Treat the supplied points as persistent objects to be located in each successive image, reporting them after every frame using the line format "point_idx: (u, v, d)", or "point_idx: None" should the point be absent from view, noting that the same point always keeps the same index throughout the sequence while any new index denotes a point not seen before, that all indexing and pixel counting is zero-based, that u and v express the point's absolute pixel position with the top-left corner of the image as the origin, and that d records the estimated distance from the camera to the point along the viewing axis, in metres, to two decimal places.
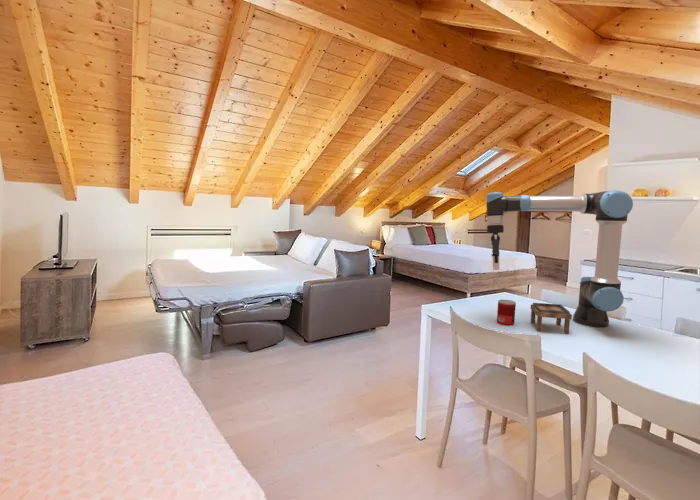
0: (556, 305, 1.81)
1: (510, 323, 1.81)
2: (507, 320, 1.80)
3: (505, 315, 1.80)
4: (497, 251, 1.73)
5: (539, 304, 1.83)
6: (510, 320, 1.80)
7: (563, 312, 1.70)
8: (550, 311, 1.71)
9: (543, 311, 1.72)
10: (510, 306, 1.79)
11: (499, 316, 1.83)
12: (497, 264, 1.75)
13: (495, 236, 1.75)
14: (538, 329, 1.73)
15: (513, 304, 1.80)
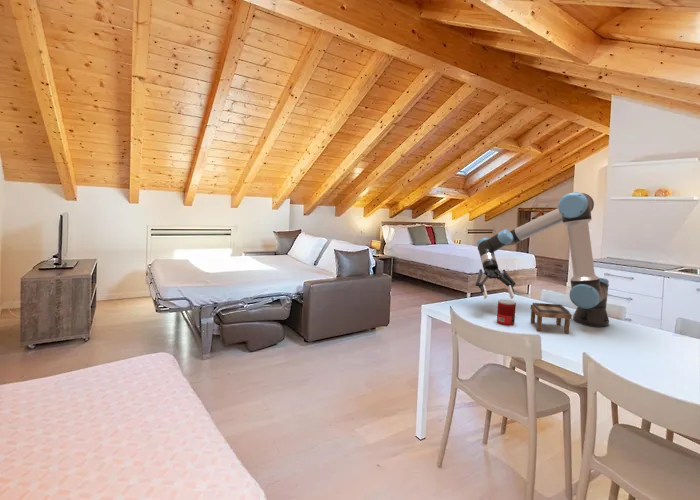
0: (556, 305, 1.81)
1: (510, 323, 1.81)
2: (507, 320, 1.80)
3: (505, 315, 1.80)
4: (477, 281, 1.95)
5: (539, 304, 1.83)
6: (510, 320, 1.80)
7: (563, 312, 1.70)
8: (550, 311, 1.71)
9: (543, 311, 1.72)
10: (510, 306, 1.79)
11: (499, 316, 1.83)
12: (484, 292, 1.91)
13: (479, 271, 1.99)
14: (538, 329, 1.73)
15: (513, 304, 1.80)
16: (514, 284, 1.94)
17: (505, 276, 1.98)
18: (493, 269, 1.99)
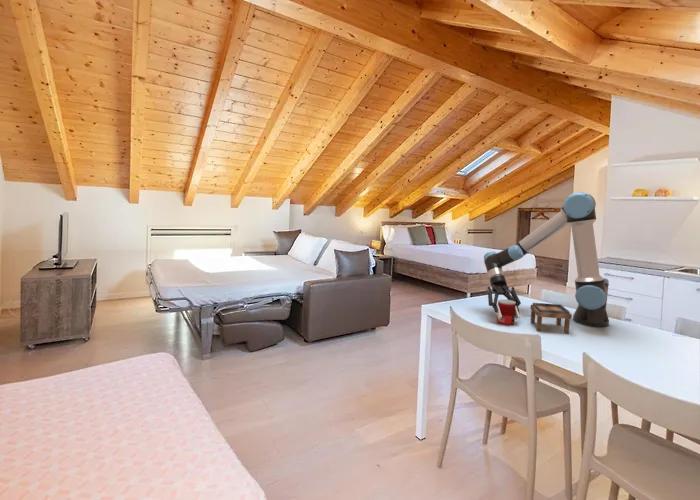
0: (556, 305, 1.81)
1: (510, 323, 1.81)
2: (507, 320, 1.80)
3: (505, 314, 1.80)
4: (489, 301, 1.85)
5: (539, 304, 1.83)
6: (510, 320, 1.80)
7: (563, 312, 1.70)
8: (550, 311, 1.71)
9: (543, 311, 1.72)
10: (510, 306, 1.79)
11: None
12: (498, 312, 1.82)
13: (487, 289, 1.90)
14: (538, 329, 1.73)
15: (513, 304, 1.80)
16: (519, 304, 1.85)
17: (512, 294, 1.89)
18: (501, 285, 1.91)
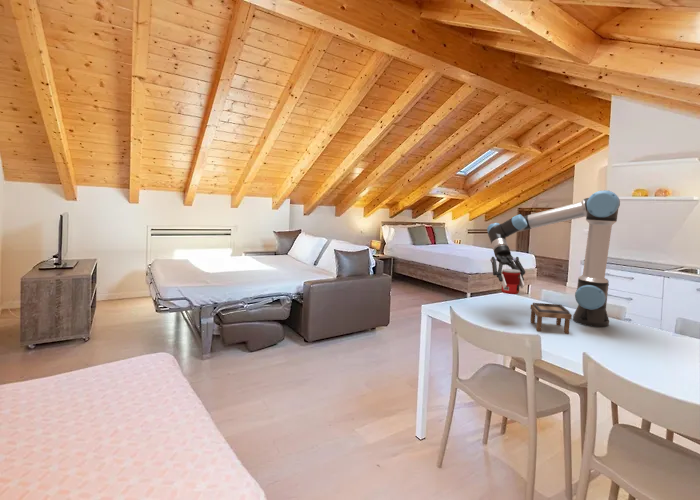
0: (556, 305, 1.81)
1: (515, 292, 1.78)
2: (512, 289, 1.78)
3: (510, 283, 1.78)
4: (494, 270, 1.83)
5: (539, 304, 1.83)
6: (515, 289, 1.78)
7: (563, 312, 1.70)
8: (550, 311, 1.71)
9: (543, 311, 1.72)
10: (515, 274, 1.77)
11: None
12: (503, 281, 1.79)
13: (491, 259, 1.88)
14: (538, 329, 1.73)
15: (518, 272, 1.78)
16: (524, 273, 1.82)
17: (517, 263, 1.87)
18: (505, 255, 1.89)
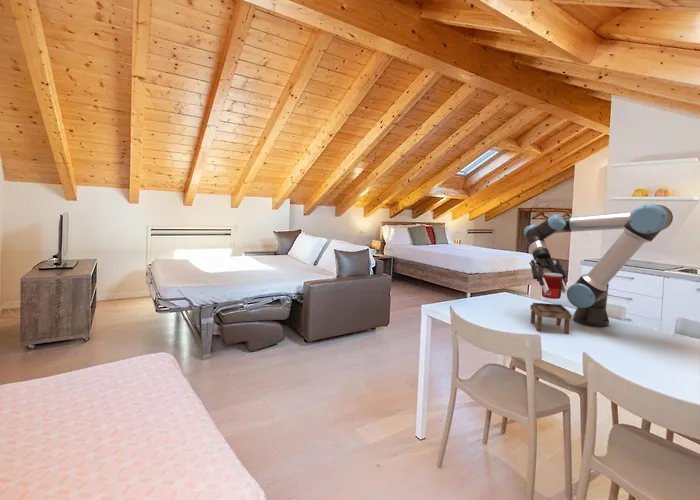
0: (556, 305, 1.81)
1: (557, 296, 1.73)
2: (554, 293, 1.72)
3: (552, 287, 1.72)
4: (534, 274, 1.77)
5: (539, 304, 1.83)
6: (557, 293, 1.72)
7: (563, 312, 1.70)
8: (550, 311, 1.71)
9: (543, 311, 1.72)
10: (557, 278, 1.71)
11: None
12: (544, 285, 1.74)
13: (530, 262, 1.82)
14: (538, 329, 1.73)
15: (560, 276, 1.72)
16: (565, 277, 1.77)
17: (557, 267, 1.81)
18: (545, 258, 1.83)
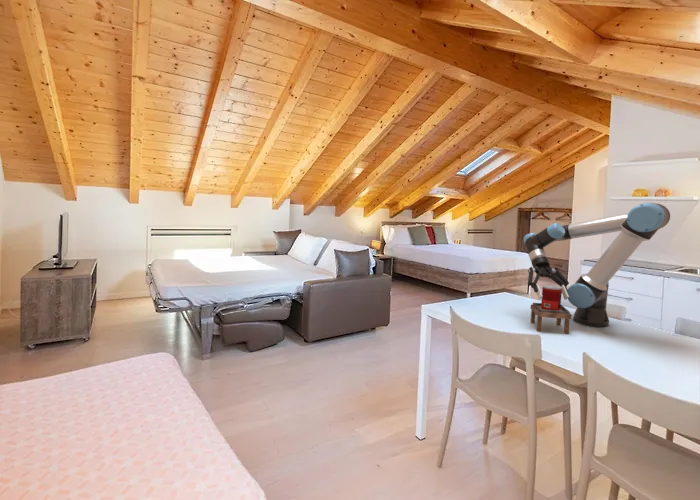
0: None
1: (556, 309, 1.73)
2: (553, 306, 1.73)
3: (551, 300, 1.73)
4: (529, 281, 1.78)
5: (539, 304, 1.83)
6: (556, 306, 1.73)
7: (563, 312, 1.70)
8: (550, 311, 1.71)
9: (543, 311, 1.72)
10: (556, 291, 1.72)
11: (544, 302, 1.75)
12: (538, 292, 1.75)
13: (529, 269, 1.83)
14: (538, 329, 1.73)
15: (560, 289, 1.73)
16: (567, 284, 1.78)
17: (557, 275, 1.82)
18: (544, 266, 1.83)
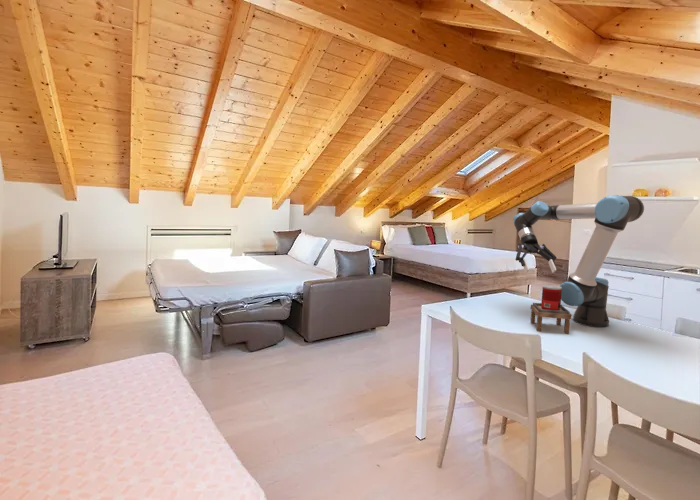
0: None
1: (556, 309, 1.73)
2: (553, 306, 1.73)
3: (551, 300, 1.73)
4: (517, 256, 1.90)
5: (539, 304, 1.83)
6: (556, 306, 1.73)
7: (563, 312, 1.70)
8: (550, 311, 1.71)
9: (543, 311, 1.72)
10: (556, 291, 1.72)
11: (544, 302, 1.75)
12: (525, 266, 1.86)
13: (518, 246, 1.95)
14: (538, 329, 1.73)
15: (560, 289, 1.72)
16: (555, 258, 1.90)
17: (545, 250, 1.93)
18: (532, 244, 1.95)
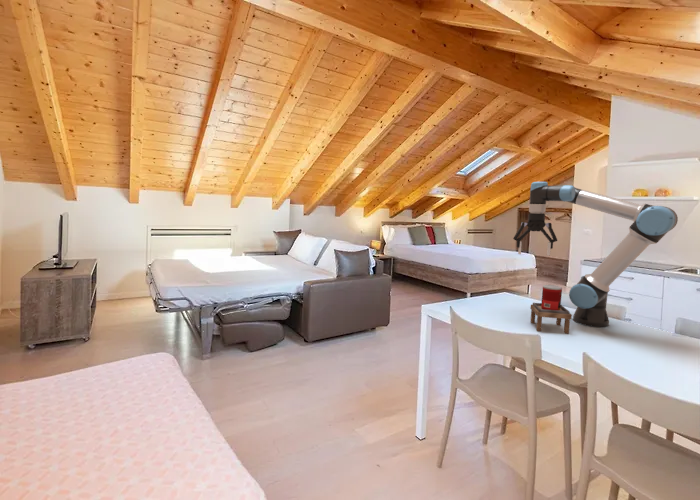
0: None
1: (556, 309, 1.73)
2: (553, 306, 1.73)
3: (551, 300, 1.73)
4: (514, 236, 1.92)
5: (539, 304, 1.83)
6: (556, 306, 1.73)
7: (563, 312, 1.70)
8: (550, 311, 1.71)
9: (543, 311, 1.72)
10: (556, 291, 1.72)
11: (544, 302, 1.75)
12: (519, 249, 1.92)
13: (521, 223, 1.91)
14: (538, 329, 1.73)
15: (560, 289, 1.72)
16: None
17: (549, 230, 1.88)
18: (538, 222, 1.88)
